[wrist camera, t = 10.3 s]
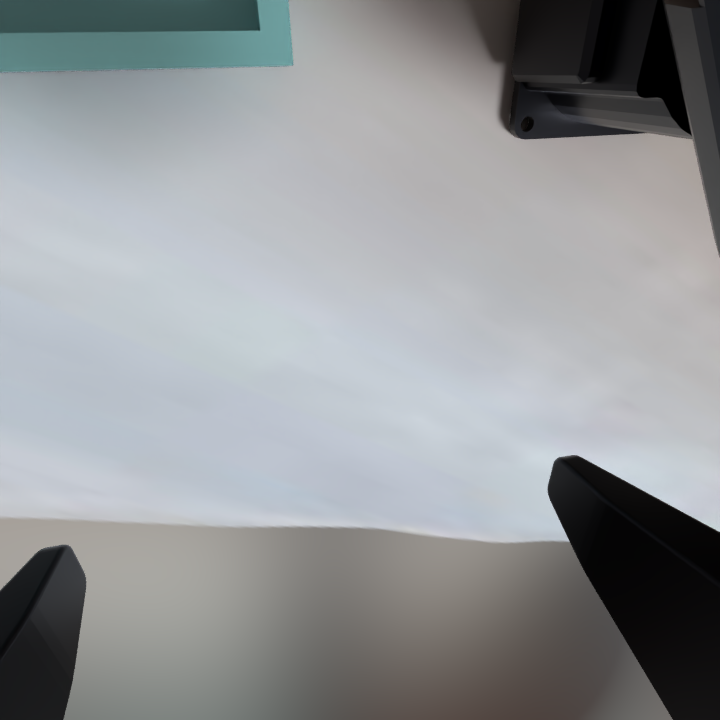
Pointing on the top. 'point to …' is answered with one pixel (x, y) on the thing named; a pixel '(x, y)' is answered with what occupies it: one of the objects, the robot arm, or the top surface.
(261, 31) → the desk tray
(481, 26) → the top surface
